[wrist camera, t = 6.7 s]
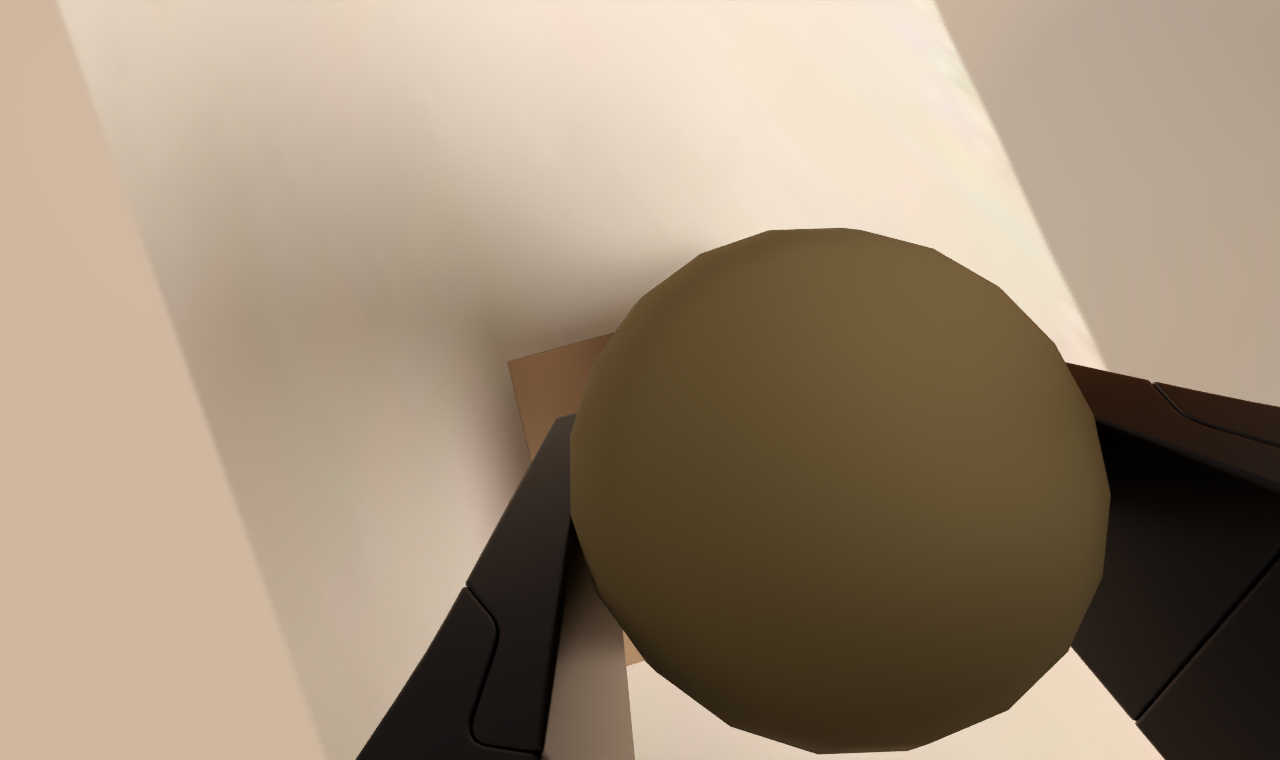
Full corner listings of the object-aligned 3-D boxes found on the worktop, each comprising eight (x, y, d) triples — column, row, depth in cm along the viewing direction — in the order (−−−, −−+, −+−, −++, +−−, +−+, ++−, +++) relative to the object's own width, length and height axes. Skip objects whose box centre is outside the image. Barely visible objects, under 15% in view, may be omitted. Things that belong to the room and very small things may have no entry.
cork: (758, 621, 14) (1178, 1126, 3) (564, 525, 14) (332, 669, 4) (835, 424, 15) (1349, 281, 4) (652, 342, 15) (678, 21, 5)
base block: (769, 311, 20) (792, 283, 17) (857, 563, 18) (900, 581, 15) (527, 378, 19) (507, 361, 16) (593, 644, 18) (583, 679, 15)
